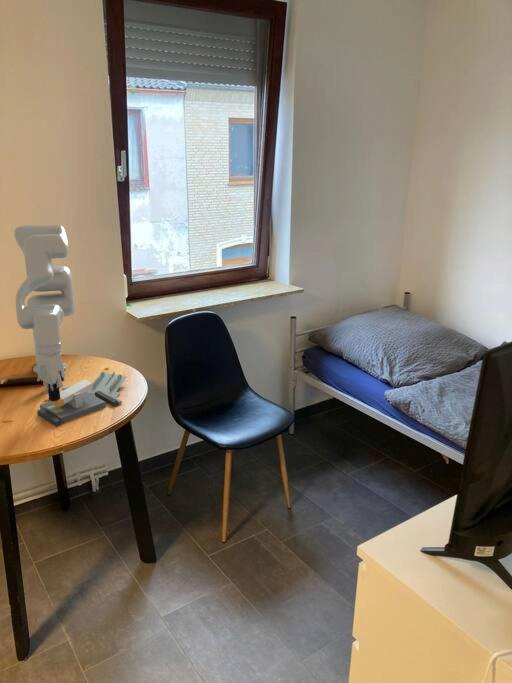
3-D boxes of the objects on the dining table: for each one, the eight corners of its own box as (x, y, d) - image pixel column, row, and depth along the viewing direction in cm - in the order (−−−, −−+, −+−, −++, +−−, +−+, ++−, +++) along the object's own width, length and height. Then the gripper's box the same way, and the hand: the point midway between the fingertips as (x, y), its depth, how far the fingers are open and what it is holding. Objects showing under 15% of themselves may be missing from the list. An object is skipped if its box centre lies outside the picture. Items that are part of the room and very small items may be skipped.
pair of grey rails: (38, 415, 183) (37, 410, 183) (101, 393, 201) (100, 388, 200) (57, 428, 175) (57, 423, 175) (121, 403, 193) (121, 399, 192)
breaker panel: (40, 410, 187) (38, 391, 185) (84, 394, 199) (82, 377, 197) (61, 423, 178) (59, 404, 176) (105, 406, 190) (104, 388, 188)
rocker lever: (49, 402, 185) (47, 397, 184) (84, 383, 194) (83, 378, 193) (59, 408, 181) (57, 403, 180) (94, 388, 190) (93, 383, 189)
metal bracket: (96, 367, 210) (131, 371, 207) (99, 378, 214) (134, 383, 210) (77, 390, 199) (114, 396, 195) (81, 402, 202) (117, 408, 199)
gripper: (27, 345, 178) (33, 396, 184) (49, 356, 168) (55, 409, 174) (48, 340, 183) (54, 390, 189) (71, 350, 174) (76, 402, 179)
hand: (54, 399), depth 181 cm, fingers closed
